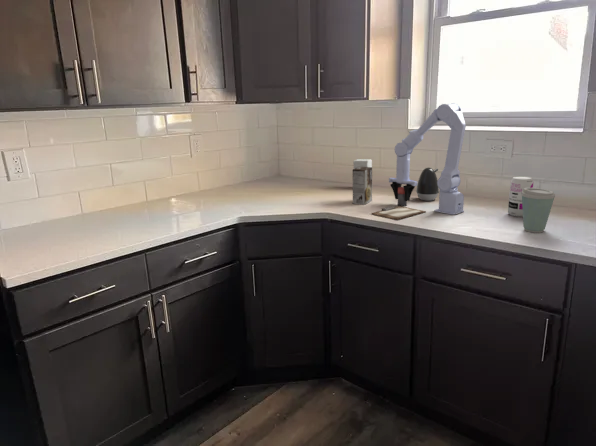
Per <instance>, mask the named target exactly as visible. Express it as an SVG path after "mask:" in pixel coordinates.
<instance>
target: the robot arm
mask: <svg viewBox="0 0 596 446" xmlns="http://www.w3.org/2000/svg"><path fill="white" fill-rule="evenodd" d="M439 122H444V123H445V124H446V125H447V126H448V127H449V128H450V132H449V133H450V134H449V139H448V146H447V150H446V156H445V157H446V158H445V163H444V168H443V169H442V171H441V173H440V176H439V178H437V180H438V182H437V185H438V188H439V193H438V195H439V196H438V208H436V209H434V212H437V213H443V214H448V215H451V216H452V215H454V216H455V215H457V214H461V213H464V212H465V210H464V203H465V195H464V194H463V193H462V192H460V191H459V190H458V187H459V186H460V184H461V182H462V181H461V176H460V174H461V171H460V170H459V165H460V160H461V153H462V149H463V143H464V137H465V132H466V121H465V118H464V114H463V108H461V107H460V106H459V105H458V103H455V102H453V103H441V104H439V106H437V108H436V109H434V110H433V112H432V113H431V114H430V115H429V116H428V117H427V118H426V120H424V121H423V123H422V124H421V125H420V126H419V128H418V129H413V130H410V131H409V132H408V135H407V136H406V137H405V138H402V140H401V142H397V143H396V145H395V146H394V154H395V155H396V174H395V175H396V177H388V183H390V187H391V190H392V191H393V195H394V199H395V200H398V187H404V191H405V201H407V202H409V201H410V199H411V196H412V193H413V191H414V189H416V188H415V187H417V184H418V181H417V180H413V179H411V178H410V173H411V172H410V170H411V154H412V153H413V152H414V151H413V150H414V149H415V148H416V147H417V146H418V145H419V144H420V143H421V142H422V141H423V140H424V135H425V134H426V133H427V132H429V130H430V129H432V128H433V127H435V125H436V124H437V123H439ZM402 185H403V186H402Z"/></svg>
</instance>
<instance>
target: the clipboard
mask: <svg viewBox="0 0 596 446" xmlns="http://www.w3.org/2000/svg"><path fill="white" fill-rule="evenodd" d="M426 213H427V211H426V210H421V209H416V208H412V207H411V208H410V207H406V206H398V205H397V206H393V205H390V206H386V207H382V208H381V210H378V211H373V212H371V215H373V216H377V217H382V218H386V219H390V220H395V221H400V220H403V219H407V218H411V217H415V216H419V215H422V214H426Z"/></svg>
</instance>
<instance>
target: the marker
mask: <svg viewBox="0 0 596 446" xmlns="http://www.w3.org/2000/svg"><path fill="white" fill-rule="evenodd" d="M407 202H408V201H405V191H404V187H403V186H401V187H398V199H397V207H398V206H402V207H406V206H408V205H407V204H408V203H407Z"/></svg>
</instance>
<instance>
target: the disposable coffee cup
mask: <svg viewBox="0 0 596 446" xmlns="http://www.w3.org/2000/svg"><path fill="white" fill-rule="evenodd" d="M521 195H522V207H523V217H522V221H523V222H522V223H523V226H522V227H523V229H524V231H525V232H529V233H536V234H537V233H538V234H540V233H543V232H545V230H546V227H547V223H548V220H549V218H550V213H551V209H552V208H553V207H552V206H553V203H554V201H555V198H556V193H554V191H552V190H549V189H545V188H540V187H539V188H538V187H533V188H524V189H523V191H522V193H521Z"/></svg>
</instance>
